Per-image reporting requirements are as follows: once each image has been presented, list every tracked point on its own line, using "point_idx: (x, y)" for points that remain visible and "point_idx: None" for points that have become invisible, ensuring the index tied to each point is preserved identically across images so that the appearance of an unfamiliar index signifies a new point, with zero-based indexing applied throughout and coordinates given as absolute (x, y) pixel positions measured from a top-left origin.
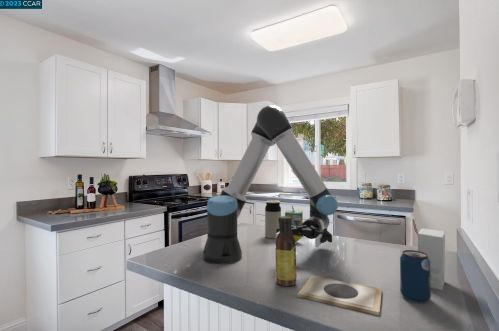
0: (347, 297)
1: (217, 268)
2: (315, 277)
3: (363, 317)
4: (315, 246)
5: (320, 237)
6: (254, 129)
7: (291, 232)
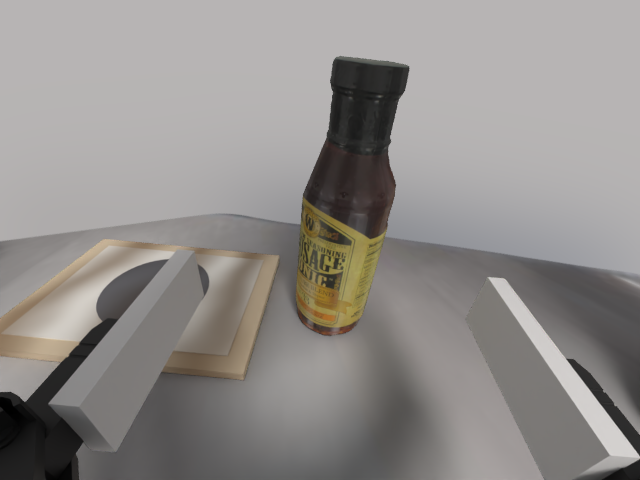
0: (152, 263)
1: (601, 338)
2: (227, 355)
3: (146, 235)
4: (202, 292)
5: (126, 324)
6: None
7: (325, 142)
